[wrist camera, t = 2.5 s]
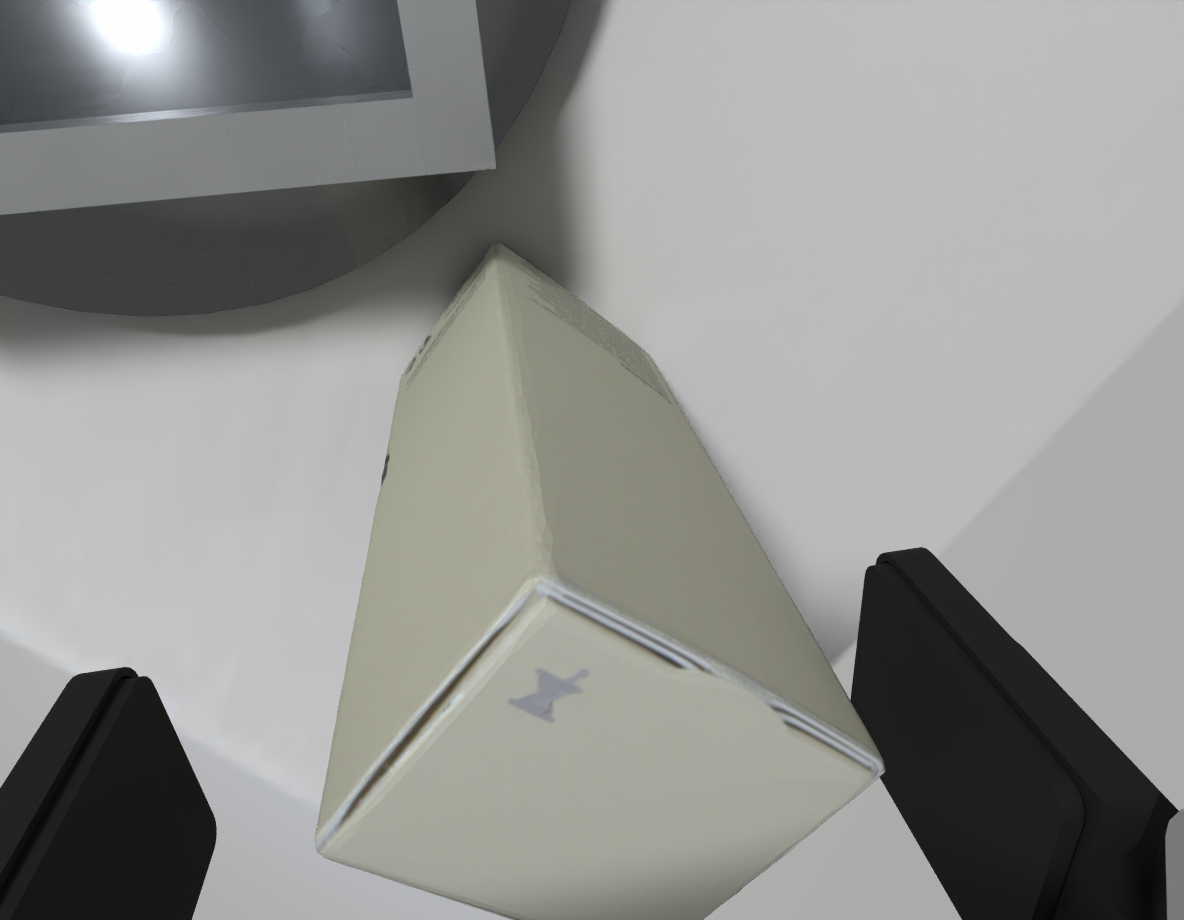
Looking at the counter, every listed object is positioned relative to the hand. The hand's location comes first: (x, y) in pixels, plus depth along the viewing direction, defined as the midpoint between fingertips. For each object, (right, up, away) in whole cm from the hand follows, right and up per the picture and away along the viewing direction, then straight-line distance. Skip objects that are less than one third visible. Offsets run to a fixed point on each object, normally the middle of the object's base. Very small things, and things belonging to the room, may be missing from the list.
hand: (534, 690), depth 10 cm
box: (-1, +6, +9) cm, 11 cm away
